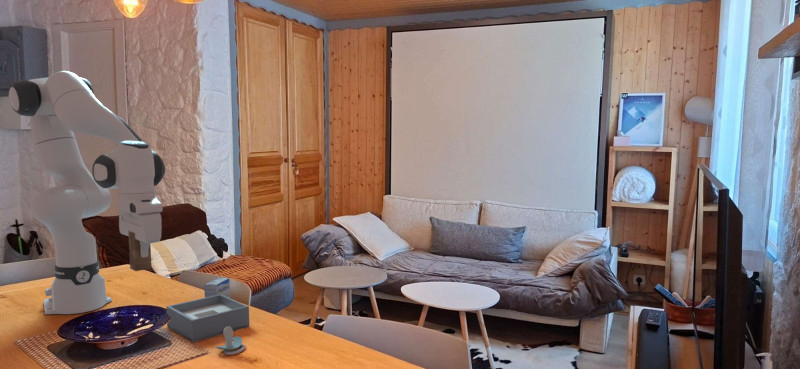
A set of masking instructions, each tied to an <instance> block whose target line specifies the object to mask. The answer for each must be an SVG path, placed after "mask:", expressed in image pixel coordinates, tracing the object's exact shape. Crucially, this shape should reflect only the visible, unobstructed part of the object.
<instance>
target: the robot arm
mask: <svg viewBox="0 0 800 369" xmlns="http://www.w3.org/2000/svg"><path fill="white" fill-rule="evenodd" d="M8 99H9V100H8V101H9V103H10V105H11V107H12V109H13V111H14V112H15V113H16V114H18V115H19V116H24V117H30V129H31V137H32V140H33V143H34V144H33V145H34V148H35V151H36V154H37V158H38V161H39V164H40V167H41V170H42V172H44V173H46V174H47V175H50V176H51V177H52V178H54V179H55V180H56V182H57V183H58V184H59V186H51V187H49V188H46V189H44V190H41V191H38V192H36V193H35V194H34V195H33V197H32V198H31V200H30V211H31V214H32V216H33V217H34V218H35V219H36V220H37V221H38V222H40V223H42V224H43V225H44V226H45V227H46V228H47V230H48V231H49V233H50V235H51V238H52V240H53V244H54V253H55V265H54V269H53V270H54V271H53V273H54V277H55V278H54V279H53V281H52V282H51V285H50V288H49V287H48V288H45V290H44V295H45V297H48V298H46V299H43V309H44V311H45V312H44V315H75V314H83V313H86V312H87V313H88V312H92V311H95V310H97V309H101V308H103V307H104V306H105V305H107V304H108V303H111V302H112V301H113V300H112V297H109V296H107V288H106V281H105V277H104V276H102V275H101V274H100V273H99V272H100V263H99V261H98V256H97V240H96V237H95V235H94V234H92V233H90V232H87V230H86V229H85V227H84V225H83V221H82V220H83V219H87V218H90V217H96V216H98V215H101V213H103V212H105V211H107V210H108V209H109V208H110V206H111V203H112V194H111V191H110V190H116V189H118V192H117V193H118V194H117V195H118V210H119V212H118V214H119V215H118V228H119V233H120V234H121V235H124V236H127V237H129V235H128V231H130V232H133V233H135V239H136V240H139V241H140V245H141V248H140V250H139V253H140V254H139V255H140V256H141V257H148V255H149V254H148V250H149V246H151V244H155V243H160V240H161V239H162V215H161V213H162V212H163V204H162V202H161V201H160V199H159V198H158V197H157V193H156V192H157V191H156V186H157V185H159V184H160V183H161V181H162V180H163V179H164V177H165V174H166V165H165V162H164V160H163V158H162V157H161V156H160V155H159V154H158V153H157V152H156V151H155V150H153V149H152V146H151V145H150V144H149V143H147V142H145V141H144V140H142V139H141V137H139V135H138V134H137V133H136V132H135V131H134V129H133V128H131V127H130V125H129V124H128V123H127V122H126V121H125V120H124V119H123V118H121V117H120V116H119V115H118V114H116V113H114V112H113V111H111V110H109V109H108V107H106V106H105V105H104V104H103V103H102V102H100V100H98V98H96V96H95V94H94V88H93V85H92V84H91V82H90V81H89V80H88V79H86V78H83V77H79V76H78V75H77V74H76V73H74V72H71V71H66V70H60V71H57V72H54V73H52V74H51V75H49V76H48V77H40V78H39V77H38V78H32V79H19V80H17V81H14V82H12V84H11V85H10V86H9V90H8ZM75 133H77V134H81V135H87V136H93V137H98V138H102V139H105V140H109V141H111V142H113V143H115V145H117V146H116V147H115V148H114V149H113V150H111V151H108V152H107V153H104V154H100V155H99V156H98V157H96V159H95V160H94V162H93V163H92V168H91V169H92V173H91V172H90V171H89V170H88V168H87V166H86V164H85V163H84V160H83V157H82V155H81V151H80V149H79V145H78V141H77V139H76V136H75V135H76V134H75ZM49 296H51V297H49Z"/></svg>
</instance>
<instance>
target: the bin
mask: <svg viewBox="0 0 800 369" xmlns="http://www.w3.org/2000/svg"><path fill="white" fill-rule="evenodd" d="M167 314H168V315H169V316H170V317H171V319H170V321H169V322H168V323H167V322H166V326H167V328H168V329H170V330H171V331H173V332H175V333H176V334H178V335H180V336H182V337H183V338H185V340H188V341H189V342H190V343H196V342H200V341H203V340H207V339H212V338H214V337H217V336H222V335H223V331H224V329H225V328H226V327H227V326H230V327H231V328H232V329H233V332H236V331H239V330H243V329H246V328H250V307H249V305H247V304H245V303H242V302H240V301H238V300H235V299H233V298H231V297H230V298H229V297H226V296H224V295H222V294H219V295H215V296H210V297H206V298H205V297H202V298H197V299H193V300H189V301H184V302H179V303H175V304H171V305H170V304H169V305H167V306H166V315H167Z"/></svg>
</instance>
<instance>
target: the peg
mask: <svg viewBox="0 0 800 369" xmlns="http://www.w3.org/2000/svg"><path fill="white" fill-rule="evenodd" d="M128 235H129V236H128V249H129V252H128V254H129V268H130V270H133V271H135V272H140V271H145V270H150V269H152V267H153V266H152V250H151V245H150V246H149V250H148V254H149V255H148V257H141V256H140V255H139V254H140V253H139V250H140V248H141V245H140V241H139V240H136V239H135V233H133V232H130V231H128Z"/></svg>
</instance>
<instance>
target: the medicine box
mask: <svg viewBox="0 0 800 369" xmlns="http://www.w3.org/2000/svg"><path fill="white" fill-rule="evenodd" d="M203 287H204V291H203V292H204V298H206V297H210V296H215V295H219V294H222V295H224V296H226V297H229V298H231V288H230V278H227V277H218V278H217V277H216V278H215V279H213V280H211V281H210V282H207V283H205V284H204V286H203Z"/></svg>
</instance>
